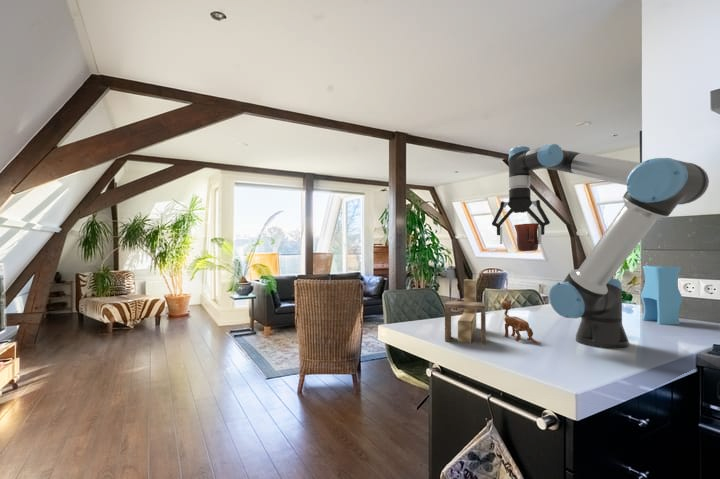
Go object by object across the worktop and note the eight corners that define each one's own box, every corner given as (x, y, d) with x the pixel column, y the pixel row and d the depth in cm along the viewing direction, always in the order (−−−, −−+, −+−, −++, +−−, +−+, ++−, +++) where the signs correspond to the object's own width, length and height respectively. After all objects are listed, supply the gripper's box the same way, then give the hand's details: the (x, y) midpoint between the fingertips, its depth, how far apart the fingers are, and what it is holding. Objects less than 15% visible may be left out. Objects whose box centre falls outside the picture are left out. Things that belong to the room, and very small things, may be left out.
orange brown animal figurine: (548, 346, 123) (547, 305, 123) (532, 348, 121) (532, 306, 121) (510, 334, 140) (509, 298, 140) (496, 335, 138) (495, 299, 138)
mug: (513, 251, 144) (512, 225, 145) (537, 250, 143) (535, 224, 143) (520, 251, 133) (518, 223, 133) (546, 250, 131) (544, 222, 131)
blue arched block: (682, 326, 152) (681, 267, 153) (659, 326, 152) (658, 267, 153) (663, 322, 162) (662, 265, 163) (641, 321, 162) (640, 266, 163)
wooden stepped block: (476, 328, 151) (476, 279, 151) (471, 342, 127) (470, 285, 128) (465, 327, 152) (464, 279, 153) (457, 341, 129) (457, 285, 130)
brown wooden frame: (485, 339, 132) (485, 302, 132) (484, 344, 124) (484, 306, 124) (447, 336, 136) (447, 300, 137) (444, 341, 129) (444, 303, 129)
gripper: (554, 187, 138) (555, 243, 138) (485, 191, 147) (486, 244, 147) (557, 184, 131) (558, 243, 131) (484, 188, 140) (485, 243, 140)
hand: (520, 244), depth 139 cm, fingers open, 13 cm apart
